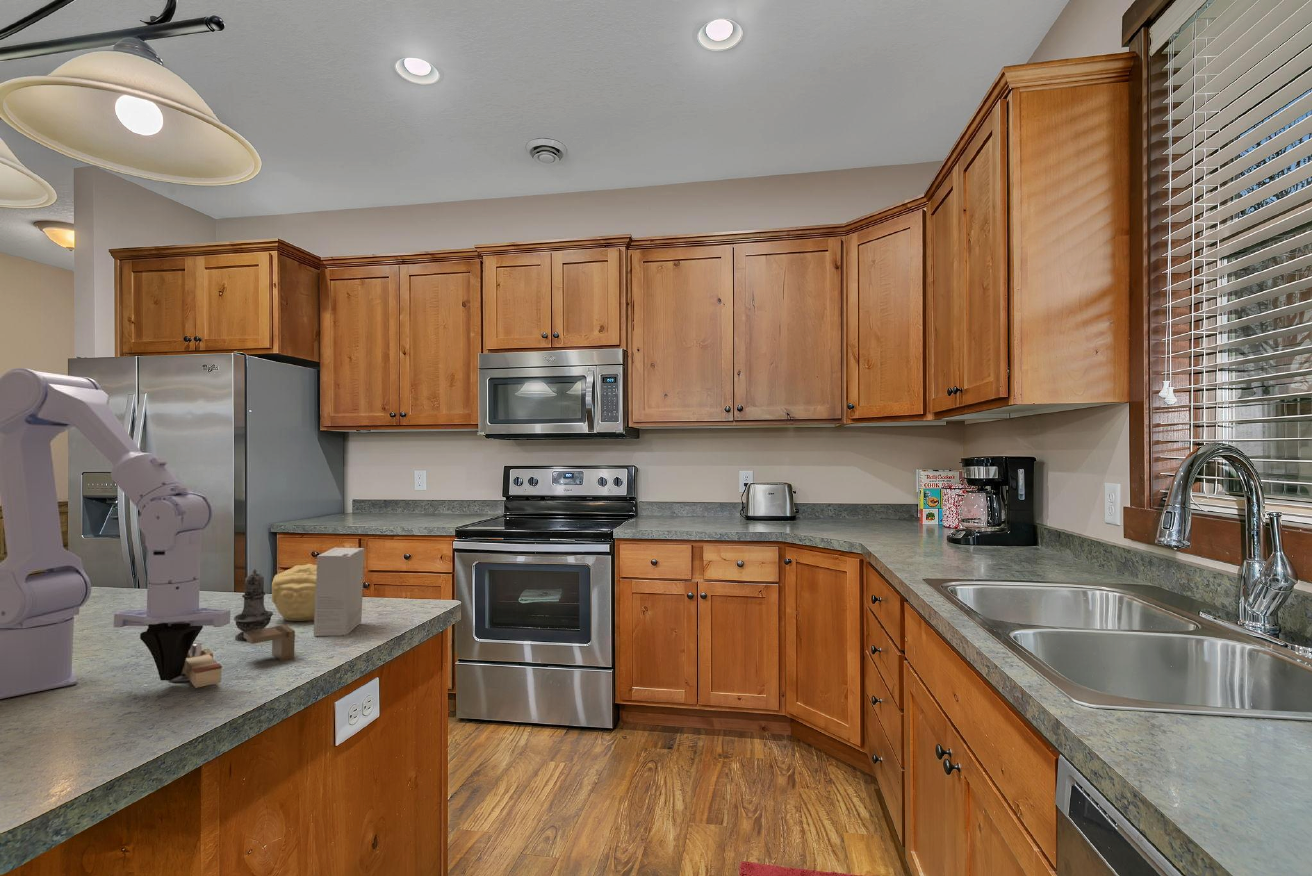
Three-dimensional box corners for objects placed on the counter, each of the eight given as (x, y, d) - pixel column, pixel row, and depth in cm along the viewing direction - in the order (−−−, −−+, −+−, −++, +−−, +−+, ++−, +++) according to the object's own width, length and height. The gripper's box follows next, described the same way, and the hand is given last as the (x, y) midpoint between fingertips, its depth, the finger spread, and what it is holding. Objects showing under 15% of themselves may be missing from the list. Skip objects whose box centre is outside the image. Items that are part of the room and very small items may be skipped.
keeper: (251, 667, 90) (252, 638, 90) (242, 660, 93) (243, 632, 93) (294, 658, 94) (294, 630, 94) (284, 651, 97) (285, 624, 97)
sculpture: (261, 627, 111) (263, 569, 112) (290, 610, 123) (292, 559, 124) (326, 624, 113) (327, 568, 114) (348, 609, 125) (350, 558, 125)
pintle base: (172, 686, 82) (173, 653, 82) (164, 675, 86) (166, 644, 86) (224, 674, 87) (225, 644, 87) (214, 664, 91) (215, 635, 91)
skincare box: (330, 624, 113) (332, 547, 114) (363, 623, 114) (365, 546, 115) (312, 637, 105) (314, 554, 105) (348, 636, 106) (350, 553, 106)
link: (176, 669, 86) (176, 653, 87) (207, 662, 89) (208, 647, 89) (190, 688, 79) (191, 672, 79) (225, 681, 82) (225, 665, 82)
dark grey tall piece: (278, 629, 109) (279, 565, 109) (264, 640, 103) (265, 573, 103) (242, 630, 108) (244, 565, 107) (226, 642, 102) (228, 573, 102)
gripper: (95, 586, 78) (90, 689, 78) (206, 586, 79) (202, 688, 78) (139, 576, 85) (136, 670, 85) (241, 575, 86) (238, 669, 85)
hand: (170, 677), depth 82 cm, fingers closed
